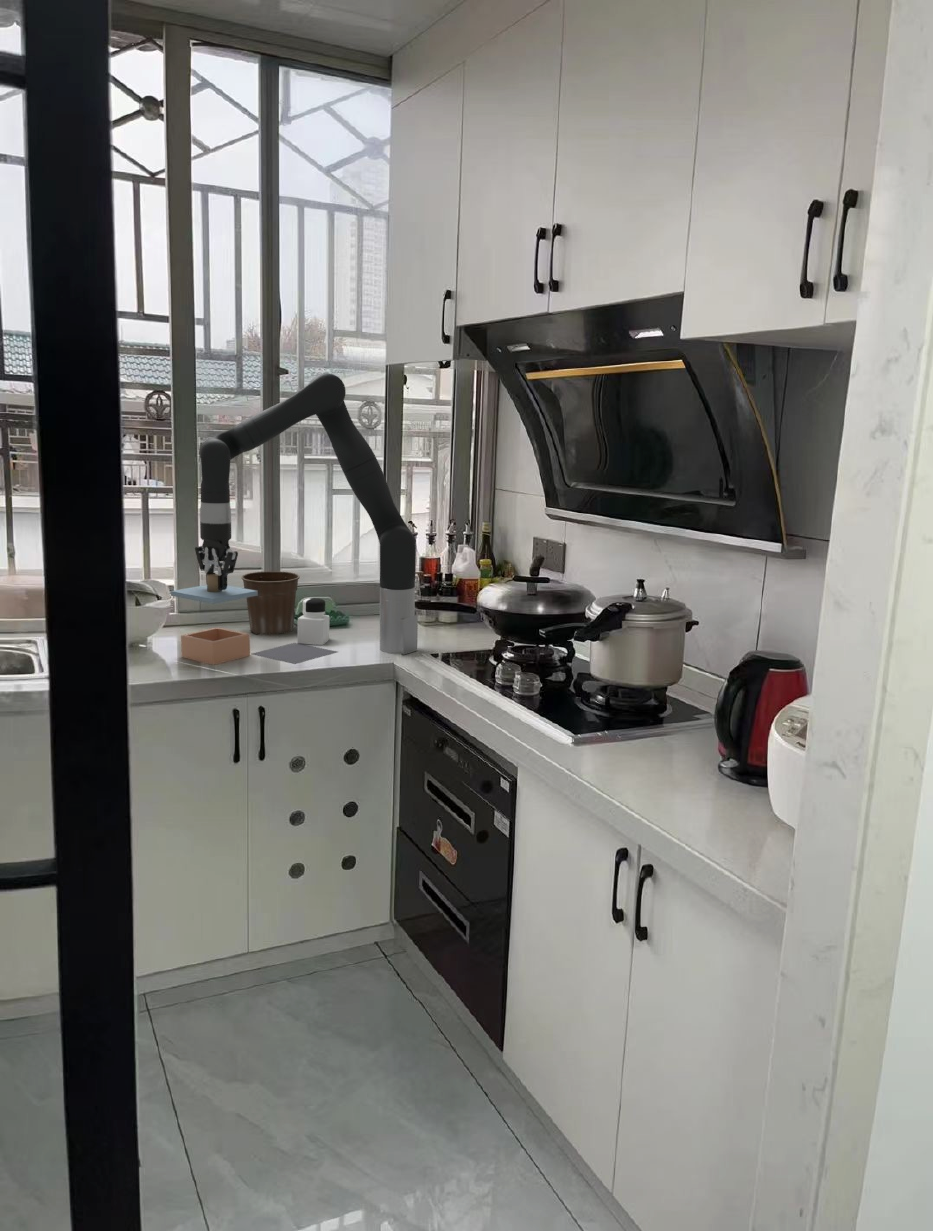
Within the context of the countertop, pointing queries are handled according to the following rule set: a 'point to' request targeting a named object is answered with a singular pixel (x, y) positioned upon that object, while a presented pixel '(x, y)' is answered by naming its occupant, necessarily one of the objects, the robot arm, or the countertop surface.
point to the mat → (294, 653)
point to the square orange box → (215, 645)
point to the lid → (213, 592)
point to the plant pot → (271, 601)
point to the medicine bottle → (313, 623)
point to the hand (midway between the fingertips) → (216, 588)
